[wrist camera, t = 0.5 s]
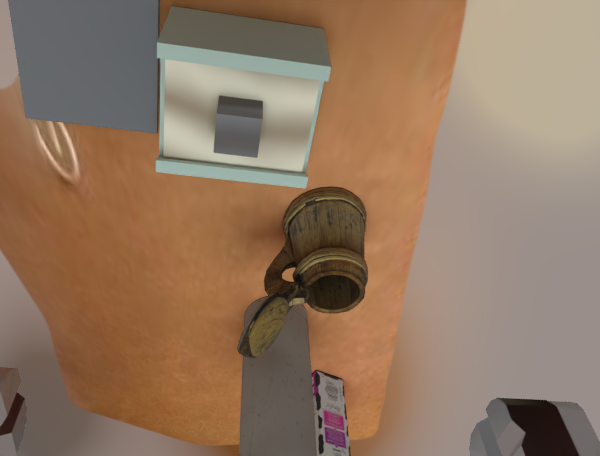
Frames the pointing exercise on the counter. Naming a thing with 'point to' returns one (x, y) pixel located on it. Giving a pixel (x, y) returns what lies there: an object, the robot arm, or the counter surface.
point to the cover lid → (237, 117)
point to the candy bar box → (330, 415)
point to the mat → (89, 61)
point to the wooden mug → (312, 264)
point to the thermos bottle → (279, 393)
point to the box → (245, 56)
